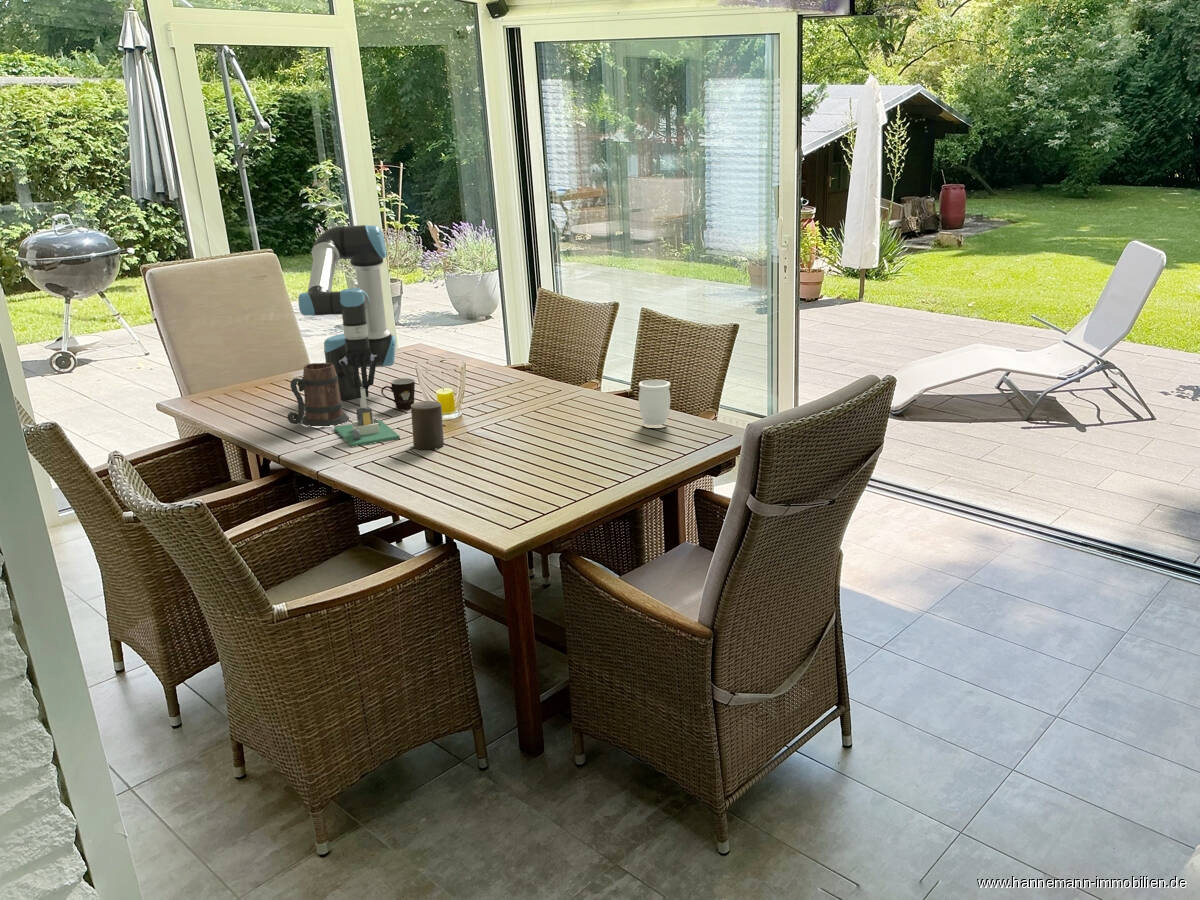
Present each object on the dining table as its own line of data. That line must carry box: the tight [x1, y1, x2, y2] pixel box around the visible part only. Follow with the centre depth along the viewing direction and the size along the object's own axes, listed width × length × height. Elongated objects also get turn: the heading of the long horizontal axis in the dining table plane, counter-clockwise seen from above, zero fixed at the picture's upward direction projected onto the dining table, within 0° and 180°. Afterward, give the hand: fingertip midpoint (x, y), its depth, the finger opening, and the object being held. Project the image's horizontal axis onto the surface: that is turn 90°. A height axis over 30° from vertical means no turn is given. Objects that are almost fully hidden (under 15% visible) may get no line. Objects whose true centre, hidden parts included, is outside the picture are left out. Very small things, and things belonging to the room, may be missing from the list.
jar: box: [638, 379, 671, 425], centre depth 324 cm, size 11×10×15 cm
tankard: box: [287, 362, 350, 426], centre depth 335 cm, size 24×17×20 cm
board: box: [333, 418, 401, 447], centre depth 324 cm, size 22×16×4 cm
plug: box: [355, 405, 374, 426], centre depth 323 cm, size 4×4×8 cm
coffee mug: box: [381, 377, 416, 411], centre depth 353 cm, size 12×9×10 cm
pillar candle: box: [410, 400, 445, 451], centre depth 310 cm, size 10×10×15 cm
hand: (363, 406), depth 322 cm, fingers closed
